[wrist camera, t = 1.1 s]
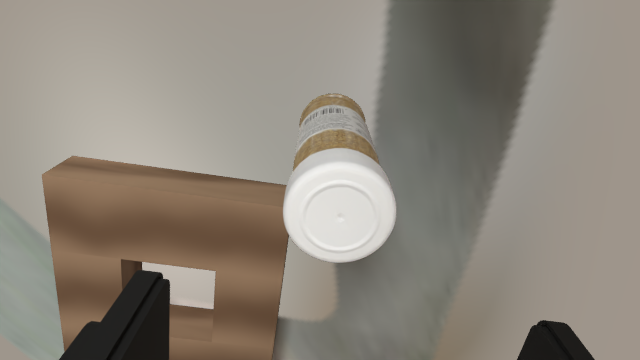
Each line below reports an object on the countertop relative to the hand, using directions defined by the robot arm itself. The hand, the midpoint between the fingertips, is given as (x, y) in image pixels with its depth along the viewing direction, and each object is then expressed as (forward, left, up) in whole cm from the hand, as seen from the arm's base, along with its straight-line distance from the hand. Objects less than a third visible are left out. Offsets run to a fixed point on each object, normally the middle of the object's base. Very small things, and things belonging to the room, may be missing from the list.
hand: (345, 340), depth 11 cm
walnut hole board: (+14, -10, -20) cm, 26 cm away
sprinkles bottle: (0, 0, -20) cm, 20 cm away
